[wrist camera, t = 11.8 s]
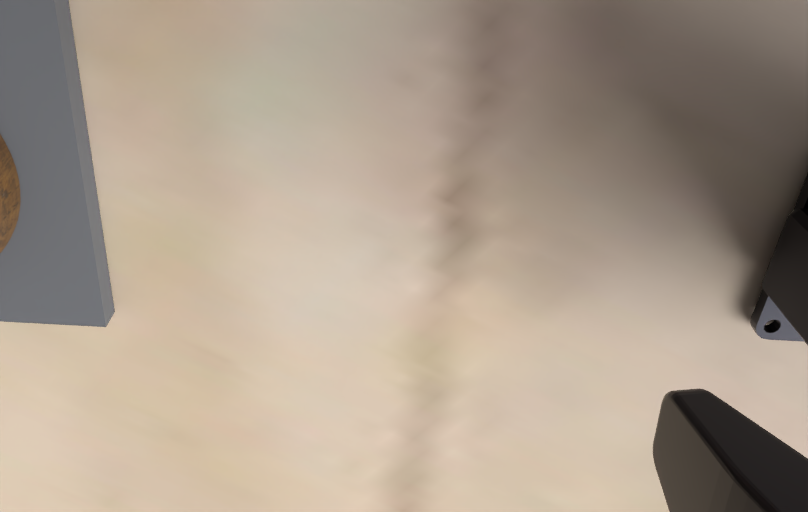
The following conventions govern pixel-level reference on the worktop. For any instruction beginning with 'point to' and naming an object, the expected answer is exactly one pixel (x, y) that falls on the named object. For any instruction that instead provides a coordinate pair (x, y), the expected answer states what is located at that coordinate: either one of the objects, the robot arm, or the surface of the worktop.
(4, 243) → the mortar and pestle
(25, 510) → the worktop surface
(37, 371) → the worktop surface
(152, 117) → the worktop surface
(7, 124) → the mat
